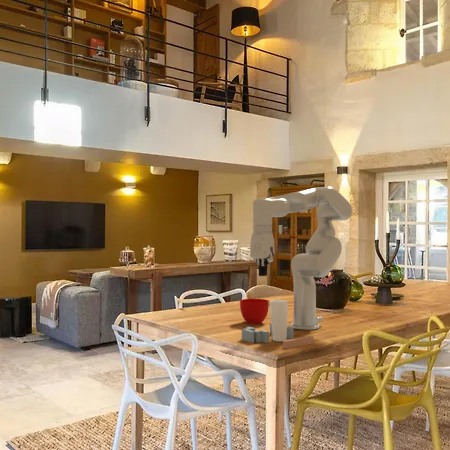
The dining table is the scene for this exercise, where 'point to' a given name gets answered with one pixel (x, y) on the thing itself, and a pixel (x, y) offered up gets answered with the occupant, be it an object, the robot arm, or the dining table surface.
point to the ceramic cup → (254, 310)
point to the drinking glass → (279, 319)
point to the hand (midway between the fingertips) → (262, 275)
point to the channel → (263, 336)
